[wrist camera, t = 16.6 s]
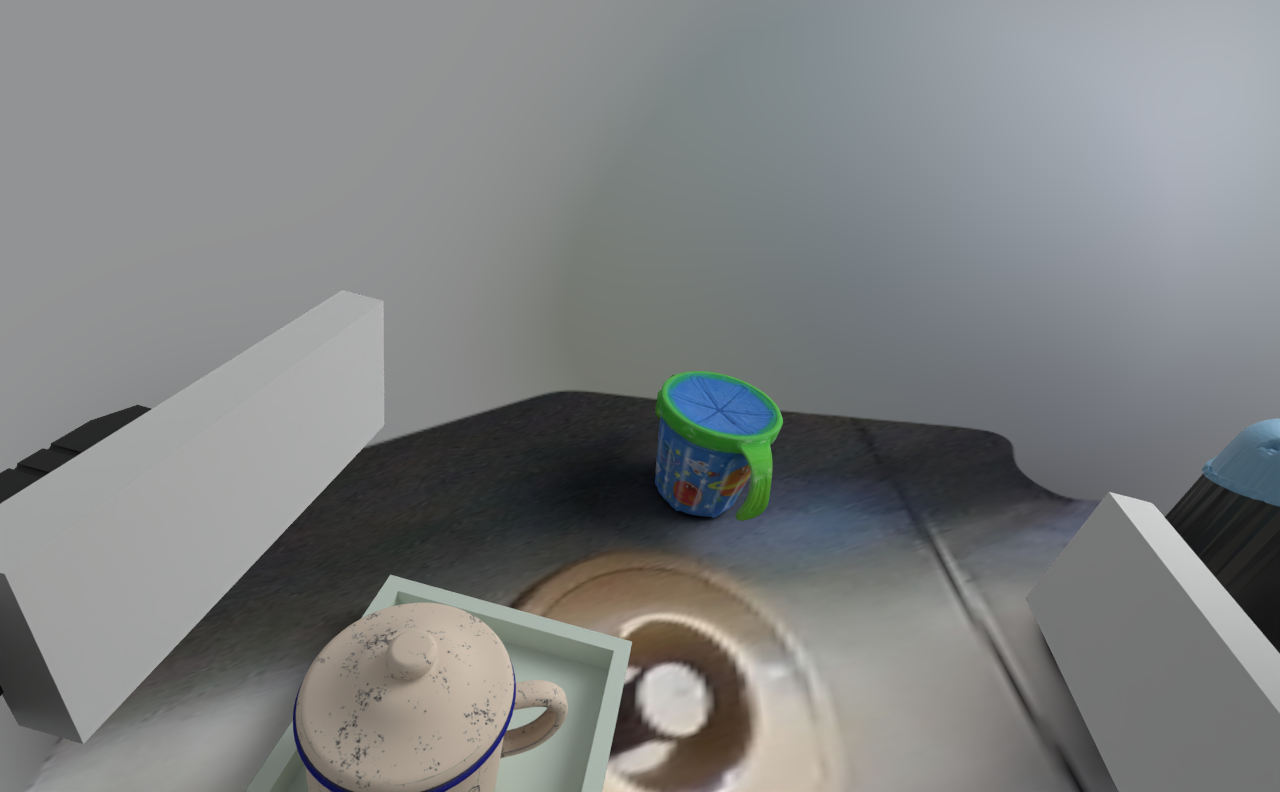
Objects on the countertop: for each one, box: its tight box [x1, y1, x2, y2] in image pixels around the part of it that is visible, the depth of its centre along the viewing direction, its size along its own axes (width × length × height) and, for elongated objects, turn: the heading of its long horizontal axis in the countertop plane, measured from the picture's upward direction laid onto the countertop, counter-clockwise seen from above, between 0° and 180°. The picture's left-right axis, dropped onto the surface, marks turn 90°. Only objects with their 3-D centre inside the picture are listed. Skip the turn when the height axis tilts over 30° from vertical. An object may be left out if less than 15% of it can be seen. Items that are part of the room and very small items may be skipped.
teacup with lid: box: [293, 603, 568, 792], centre depth 29 cm, size 12×9×12 cm
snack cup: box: [655, 371, 783, 521], centre depth 56 cm, size 16×10×10 cm
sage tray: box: [245, 575, 632, 792], centre depth 32 cm, size 16×20×3 cm
